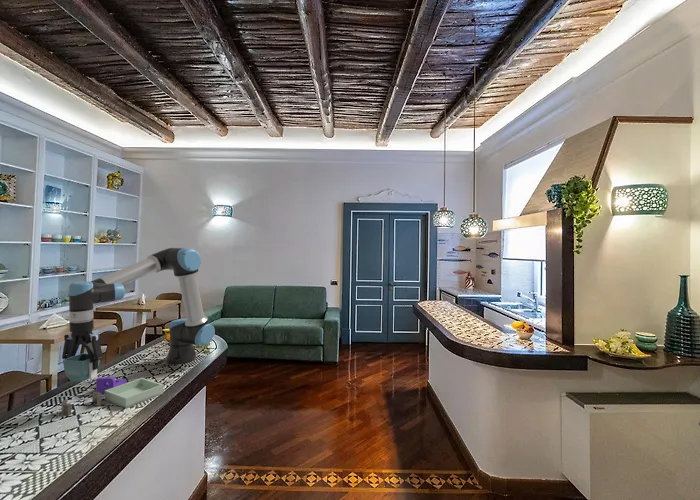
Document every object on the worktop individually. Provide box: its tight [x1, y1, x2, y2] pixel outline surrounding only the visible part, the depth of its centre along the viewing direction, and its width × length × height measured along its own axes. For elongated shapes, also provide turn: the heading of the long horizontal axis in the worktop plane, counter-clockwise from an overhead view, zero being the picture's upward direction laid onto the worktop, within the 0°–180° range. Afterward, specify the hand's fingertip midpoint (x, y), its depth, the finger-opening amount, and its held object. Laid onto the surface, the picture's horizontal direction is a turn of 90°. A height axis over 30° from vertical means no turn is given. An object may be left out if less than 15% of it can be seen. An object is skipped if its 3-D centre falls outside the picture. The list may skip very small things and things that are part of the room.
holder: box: [61, 390, 103, 417], centre depth 136 cm, size 12×7×4 cm, turn 142°
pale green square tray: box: [104, 377, 164, 409], centre depth 146 cm, size 16×16×4 cm
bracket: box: [95, 376, 128, 395], centre depth 155 cm, size 12×7×7 cm, turn 9°
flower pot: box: [62, 353, 101, 383], centre depth 136 cm, size 9×9×9 cm
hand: (83, 376), depth 136 cm, fingers closed on flower pot, 9 cm apart
